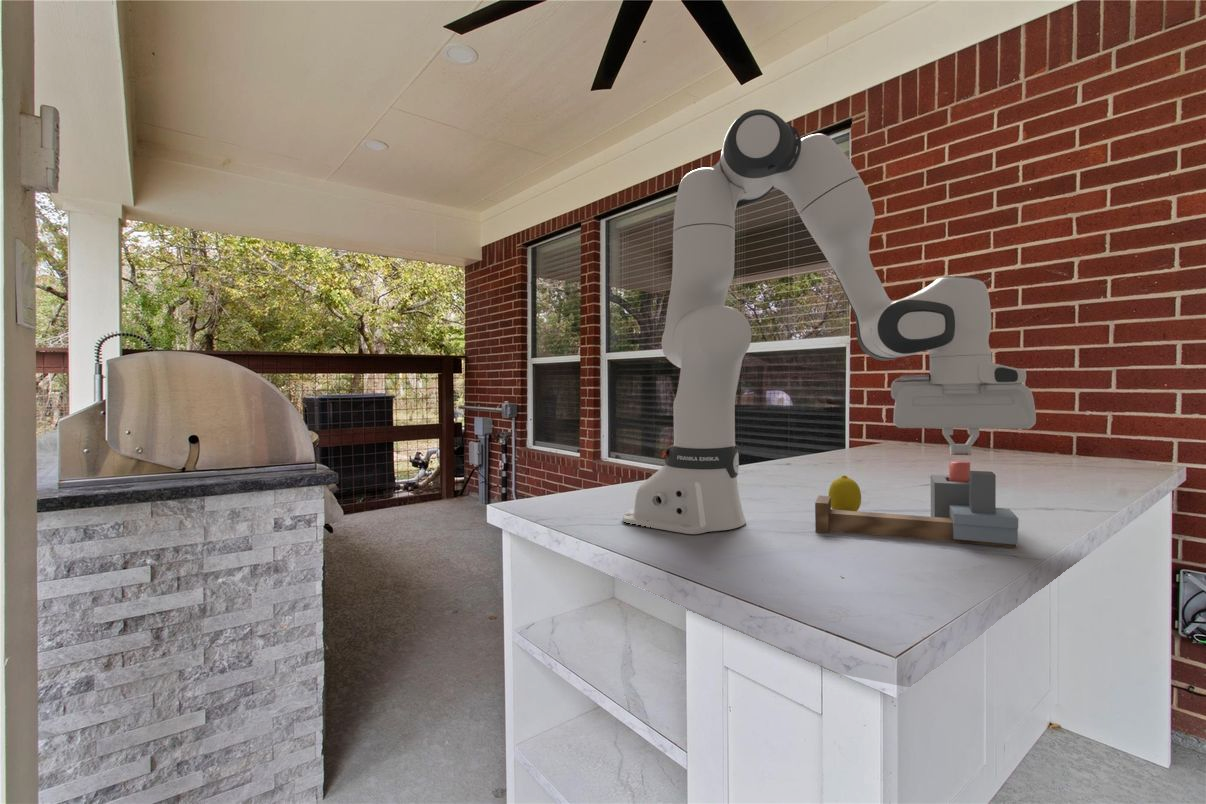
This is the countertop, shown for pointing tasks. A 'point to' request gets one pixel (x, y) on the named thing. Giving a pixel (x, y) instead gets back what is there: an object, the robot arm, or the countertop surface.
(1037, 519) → the countertop surface
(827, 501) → the rail
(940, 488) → the grey block
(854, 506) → the lemon
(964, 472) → the pink block
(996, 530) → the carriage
